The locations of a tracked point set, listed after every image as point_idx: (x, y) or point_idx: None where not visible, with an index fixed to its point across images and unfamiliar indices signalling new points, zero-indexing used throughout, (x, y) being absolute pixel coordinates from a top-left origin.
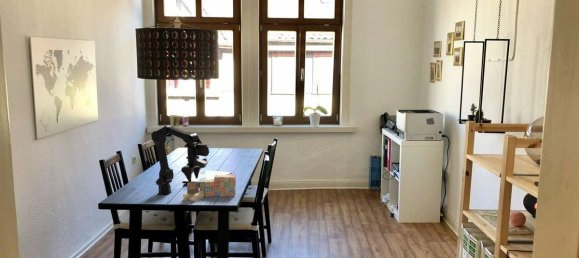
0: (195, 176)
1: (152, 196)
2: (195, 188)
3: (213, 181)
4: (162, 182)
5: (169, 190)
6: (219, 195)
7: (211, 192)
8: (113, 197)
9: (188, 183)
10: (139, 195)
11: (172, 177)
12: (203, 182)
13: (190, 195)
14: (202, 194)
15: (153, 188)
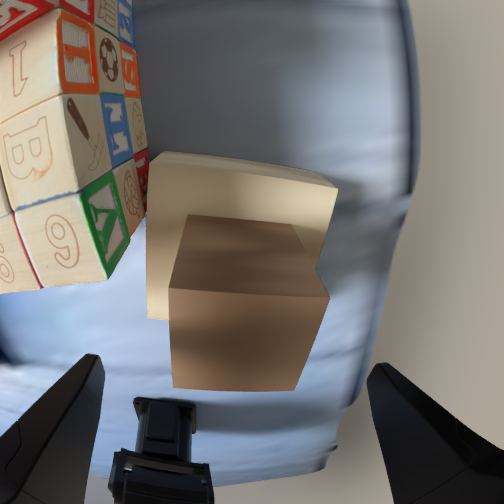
0: (99, 407)
1: (231, 433)
2: (289, 254)
3: (30, 38)
4: (210, 480)
5: (165, 415)
6: (130, 5)
7: (123, 76)
8: (261, 479)
9: (281, 382)
10: (227, 457)
11: (137, 481)
12: (88, 206)
13: (315, 259)
14: (192, 159)
15: (121, 445)
